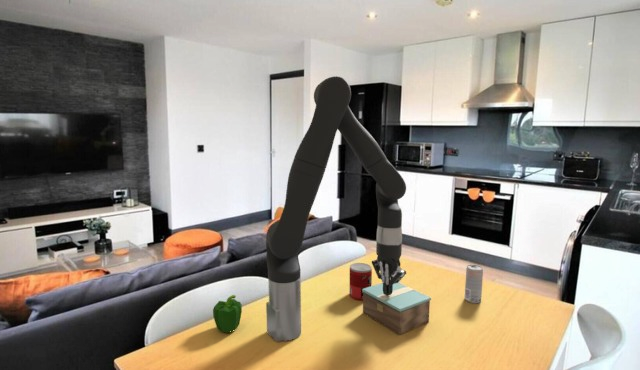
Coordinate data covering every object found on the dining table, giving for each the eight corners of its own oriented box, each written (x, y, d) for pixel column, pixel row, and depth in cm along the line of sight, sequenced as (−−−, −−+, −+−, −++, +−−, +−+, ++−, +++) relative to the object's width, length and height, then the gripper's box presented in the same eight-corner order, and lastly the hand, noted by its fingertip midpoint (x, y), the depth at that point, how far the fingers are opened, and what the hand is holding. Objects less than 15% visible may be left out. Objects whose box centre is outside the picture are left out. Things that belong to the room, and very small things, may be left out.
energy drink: (478, 296, 131) (480, 264, 129) (483, 304, 126) (485, 270, 124) (462, 296, 131) (464, 264, 130) (467, 303, 126) (469, 269, 124)
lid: (400, 311, 105) (400, 308, 105) (362, 291, 119) (362, 288, 119) (430, 300, 113) (431, 297, 113) (392, 282, 126) (392, 279, 126)
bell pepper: (215, 339, 105) (214, 306, 104) (212, 324, 113) (211, 294, 111) (245, 332, 108) (244, 300, 107) (240, 319, 116) (239, 289, 114)
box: (398, 335, 107) (399, 312, 106) (362, 313, 120) (362, 292, 119) (428, 322, 114) (429, 300, 113) (391, 302, 127) (392, 283, 126)
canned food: (364, 302, 127) (365, 272, 125) (345, 296, 131) (345, 267, 130) (375, 295, 133) (375, 265, 131) (356, 289, 138) (356, 261, 136)
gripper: (365, 236, 114) (364, 289, 117) (396, 248, 103) (394, 306, 106) (382, 233, 118) (381, 284, 121) (414, 243, 108) (412, 299, 110)
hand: (387, 294), depth 114 cm, fingers closed
